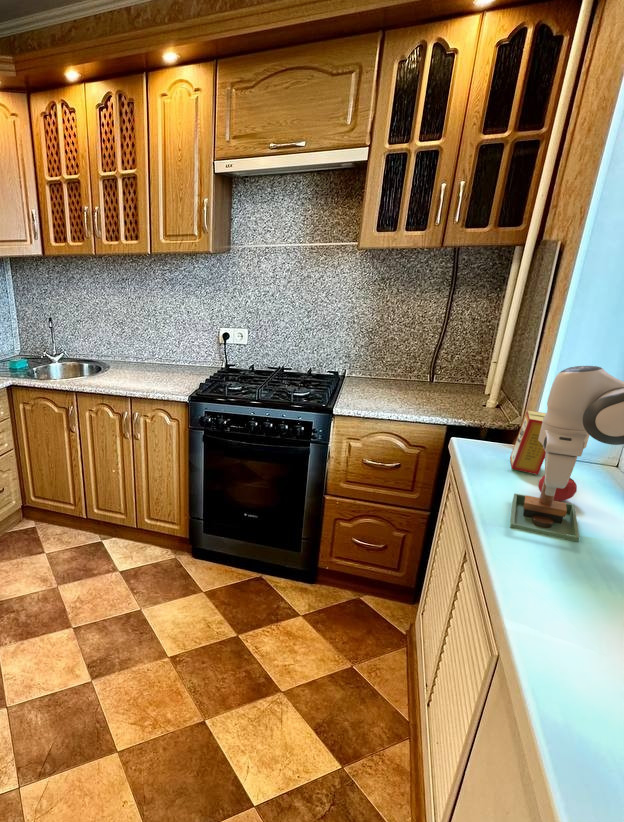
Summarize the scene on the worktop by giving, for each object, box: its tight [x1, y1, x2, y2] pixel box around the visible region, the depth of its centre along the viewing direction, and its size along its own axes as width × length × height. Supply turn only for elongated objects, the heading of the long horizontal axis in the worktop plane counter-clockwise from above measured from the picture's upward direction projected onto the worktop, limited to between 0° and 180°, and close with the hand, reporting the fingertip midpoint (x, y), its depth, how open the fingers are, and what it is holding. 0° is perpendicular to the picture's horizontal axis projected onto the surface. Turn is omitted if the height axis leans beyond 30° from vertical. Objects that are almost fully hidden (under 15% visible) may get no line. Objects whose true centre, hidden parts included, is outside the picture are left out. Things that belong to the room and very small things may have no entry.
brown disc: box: [532, 516, 554, 528], centre depth 123 cm, size 4×4×1 cm
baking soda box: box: [509, 409, 547, 475], centre depth 153 cm, size 10×6×16 cm
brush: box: [523, 479, 567, 524], centre depth 125 cm, size 8×5×11 cm, turn 55°
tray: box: [509, 493, 580, 543], centre depth 124 cm, size 19×12×3 cm, turn 145°
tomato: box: [537, 474, 578, 502], centre depth 135 cm, size 8×8×8 cm
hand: (548, 491), depth 125 cm, fingers closed on brush, 2 cm apart
